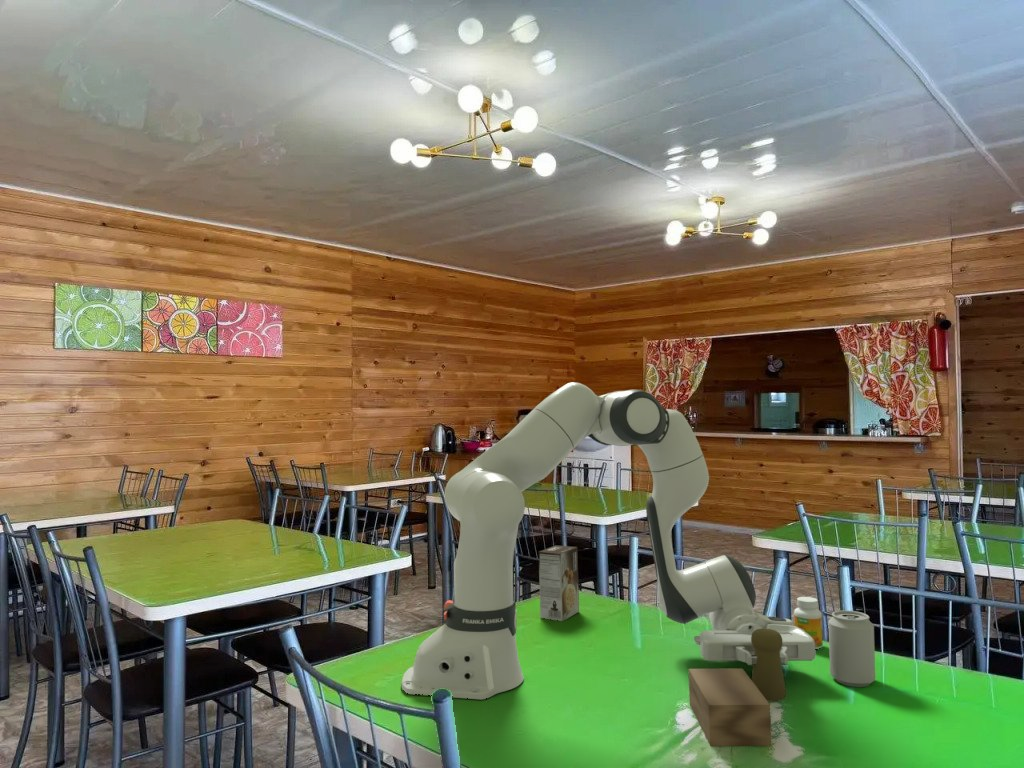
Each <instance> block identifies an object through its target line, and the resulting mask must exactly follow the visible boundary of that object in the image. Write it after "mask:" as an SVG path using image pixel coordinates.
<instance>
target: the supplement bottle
mask: <svg viewBox="0 0 1024 768" xmlns="http://www.w3.org/2000/svg"><path fill="white" fill-rule="evenodd" d="M796 601H797V602H796V604H797V606H798V607H796V608H795V609H794V611H793V626H796V627H798V628H800V629H802V630H803V631H805V632H806V633H807V634H808V635H810V636H811V637H812V638H813V639H814V641H815V649H818V648H821V647H822V646H823V645H824V644H823V643H824V642H823V614H822V611H821V610H819V609H818V608H819V600H818V599H817V598H815V597H810V596H799V597H797V598H796ZM822 648H823V647H822ZM822 648H821V649H822ZM818 650H819V649H818Z"/></svg>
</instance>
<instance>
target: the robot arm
mask: <svg viewBox="0 0 1024 768" xmlns="http://www.w3.org/2000/svg"><path fill="white" fill-rule="evenodd" d="M587 437H589V438H590V439H592V440H593V441H595V442H597V443H599V444H601V445H605V446H617V447H629V446H633V445H635V446H638V447H639V448H640V449H641V451H642V453H643V455H644V456H645V457H646V461H647V463H648V464H647V465H648V467H649V470H650V473H651V476H652V484H653V485H652V492H651V496H650V497H648V499H647V500H646V503H645V504H646V505H645V508H646V509H645V510H646V511H645V513H646V520H647V526H648V532H649V539H650V545H651V551H652V552H651V553H652V556H653V562H654V563H653V564H654V569H655V576H656V581H657V598H658V602H659V603H658V604H659V606H660V608H661V610H662V612H663V613H664V614H665V616H666V617H667V619H669V620H671V621H674V622H676V623H678V624H682V625H686V624H687V623H691V622H692V621H694V620H697V619H698V618H700V617H702V616H705V615H707V614H708V618H709V622H710V624H711V628H712V629H710V630H707V629H706V630H703V631H701V632H700V633H699V635H695V636H693V641H694V643H695V644H696V645H698V646H700V647H699V648H700V654H701V657H702V659H703V660H706V661H709V662H743V663H746V664H747V665H748V666H753V665H756V664H757V656H756V655H755V653H754V652H755V648H754V647H753V645H752V642H751V636H752V633H753V631H755V630H757V629H772V630H775V631H777V632H779V633H780V635H781V636H782V648H781V649H780V651H779V652H780V659H781V665H782V666H787V665H788V663H789V662H791V661H792V662H799V661H801V662H803V661H804V662H805V661H807V662H811V661H814V660H815V659H816V653H817V652H816V650H815V641H814V639H813V638H812V637H811V636H810V635H808V634H807V633H806V632H805V631H803V630H802V629H800V628H798V627H796V626H794V621H792V619H789V618H785V617H784V618H783V617H776V616H769V615H764V614H761V613H759V612H755V611H754V610H753V608H755V605H756V598H757V594H756V589H755V586H754V584H753V581H752V579H751V576H750V575H749V573H748V571H747V570H746V568H745V567H744V565H743V564H742V562H740V561H739V560H738V559H736V558H734V557H733V556H731V555H727V554H722V555H720V556H719V555H718V556H717V557H714V558H711V559H708V560H705V561H703V562H701V563H697V564H696V565H692V566H690V567H687V568H684V569H681V570H680V569H679V570H678V569H677V567H676V560H675V554H674V548H673V542H672V536H671V535H672V529H673V528H674V525H675V524H676V523H677V521H678V520H679V519H680V518H681V517H682V516H683V515H684V514H685V513H687V512H688V511H689V510H690V509H691V508H693V507H694V506H695V505H696V504H697V503H698V502H699V501H700V499H701V498H702V497H703V496H704V494H705V493H706V491H707V489H708V485H709V483H710V482H709V481H710V474H709V469H708V466H707V462H706V460H705V456H704V453H703V451H702V449H701V446H700V443H699V441H698V439H697V437H696V435H695V433H694V432H693V429H692V427H691V425H690V424H689V422H688V419H686V417H685V416H684V414H683V413H682V412H680V411H678V410H676V409H669V408H667V409H666V408H665V407H664V406H662V404H661V402H660V401H659V400H658V399H657V398H656V397H655V396H654V395H652V394H651V393H650V392H647V391H645V390H642V389H641V390H640V389H628V390H617V391H612V392H607V393H606V394H602V395H597V394H595V392H594V391H593V390H592V389H591V388H589V387H588V386H587V385H585V384H583V383H580V382H573V381H572V382H568V383H566V384H564V385H562V386H561V387H559V388H558V389H557V390H555V391H553V392H552V393H550V394H549V395H548V396H547V397H545V398H544V399H543V400H542V401H541V402H540V403H538V404H537V405H536V406H535V407H534V408H532V410H531V411H530V412H529V413H528V414H527V415H526V416H525V417H523V418H522V420H520V422H519V423H518V424H516V426H515V427H513V428H512V429H511V430H510V431H509V432H508V433H507V434H506V435H505V436H504V437H502V438H501V439H500V440H499V441H497V442H496V443H495V444H493V445H492V446H491V447H489V448H487V450H485V451H484V452H482V453H481V454H480V455H479V456H478V457H476V458H474V460H473V461H471V462H470V463H469V464H467V466H465V467H464V468H462V469H461V470H460V471H458V472H457V473H455V474H454V475H452V476H451V477H450V479H449V480H448V481H447V483H446V486H445V487H444V500H445V504H446V507H447V509H448V511H449V513H450V515H451V516H452V517H453V518H454V519H456V520H457V521H458V522H459V524H460V529H459V531H460V532H459V539H458V548H457V551H456V554H455V555H456V556H455V558H454V562H453V582H454V583H453V586H454V587H453V594H454V597H453V598H454V599H453V600H454V601H453V600H451V599H449V600H448V599H447V601H445V603H444V605H443V625H441V627H439V628H438V629H437V630H434V632H433V633H432V634H430V635H429V636H428V637H426V638H425V639H424V640H423V641H422V642H421V644H420V645H419V646H418V648H417V651H416V654H415V657H414V662H413V665H412V666H410V667H409V668H407V670H406V671H405V672H404V673H403V676H402V679H401V689H402V691H403V690H404V691H405V692H406V693H405V692H404V691H403V692H404V693H405V694H407V693H408V695H415V694H417V695H416V696H418V694H420V695H419V696H428V695H429V694H430V697H432V696H431V694H432V693H433V692H434V691H435V690H437V689H440V688H445V689H448V690H450V691H451V693H452V695H453V697H452V698H455V699H467V698H468V699H470V700H487V699H489V698H491V697H493V696H495V695H496V694H499V693H503V692H507V691H509V690H512V689H515V688H517V687H519V686H520V685H521V684H522V683H523V681H524V674H523V671H522V668H521V663H520V659H519V655H518V648H517V640H516V634H517V630H518V629H517V624H518V623H517V620H518V619H517V615H518V614H517V608H516V602H515V601H514V574H513V573H514V569H513V568H514V567H513V566H514V554H515V547H516V541H517V535H518V531H519V525H520V523H521V521H522V519H523V517H524V514H525V509H526V504H525V503H526V502H525V498H524V495H523V492H524V491H525V490H527V489H528V488H530V487H532V486H533V485H534V484H537V483H538V482H540V481H542V480H544V479H545V478H547V477H548V475H550V474H551V472H553V470H555V468H557V466H558V465H560V463H562V461H563V460H564V459H566V457H568V456H569V455H570V453H571V452H572V451H573V450H574V449H575V448H576V447H577V446H578V445H579V444H580V443H581V441H582V440H584V439H585V438H587ZM422 694H423V695H422ZM427 694H428V695H427ZM486 698H487V699H486Z"/></svg>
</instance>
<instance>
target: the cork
mask: <svg viewBox="0 0 1024 768" xmlns="http://www.w3.org/2000/svg"><path fill="white" fill-rule="evenodd" d="M751 642H752V645H753V647H754V648H755V652H754V653H755V655H756V656H757V664H756V665H752V670H751V671H752V672H751V680H752V682H753V683H754V684H755V686H756V687H757V688H758V689H759V691H760V692H761V693H762V695H763V696H764V697H765V699H766V700H767V701H768V702H769V701H770V702H776V701H777V702H778V701H783V700H786V698H787V689H786V684H785V679H784V671H783V665H781V659H780V652H779V651H780V649H781V648H782V636H781V635H780V633H779V632H777V631H775V630H772V629H757V630H755V631H753V633H752V636H751Z"/></svg>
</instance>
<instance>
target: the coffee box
mask: <svg viewBox="0 0 1024 768" xmlns="http://www.w3.org/2000/svg"><path fill="white" fill-rule="evenodd" d="M578 554H579V553H578V546H570V545H569V546H568V545H567V546H566V545H553V546H551V547H547V548H545V549H543V550H539V551H538V575H539V576H538V577H539V581H538V582H539V611H540V612H539V614H540V618H541V619H543V618H545V619H546V620H550V619H551V620H550V621H557V620H558V622H559V621H560V622H564V621H566V620H567V619H569V618H571V617H573V616H574V615H575V614H577V613H579V612H580V594H579V592H580V591H579V590H580V589H579V587H580V586H579V561H578Z"/></svg>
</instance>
